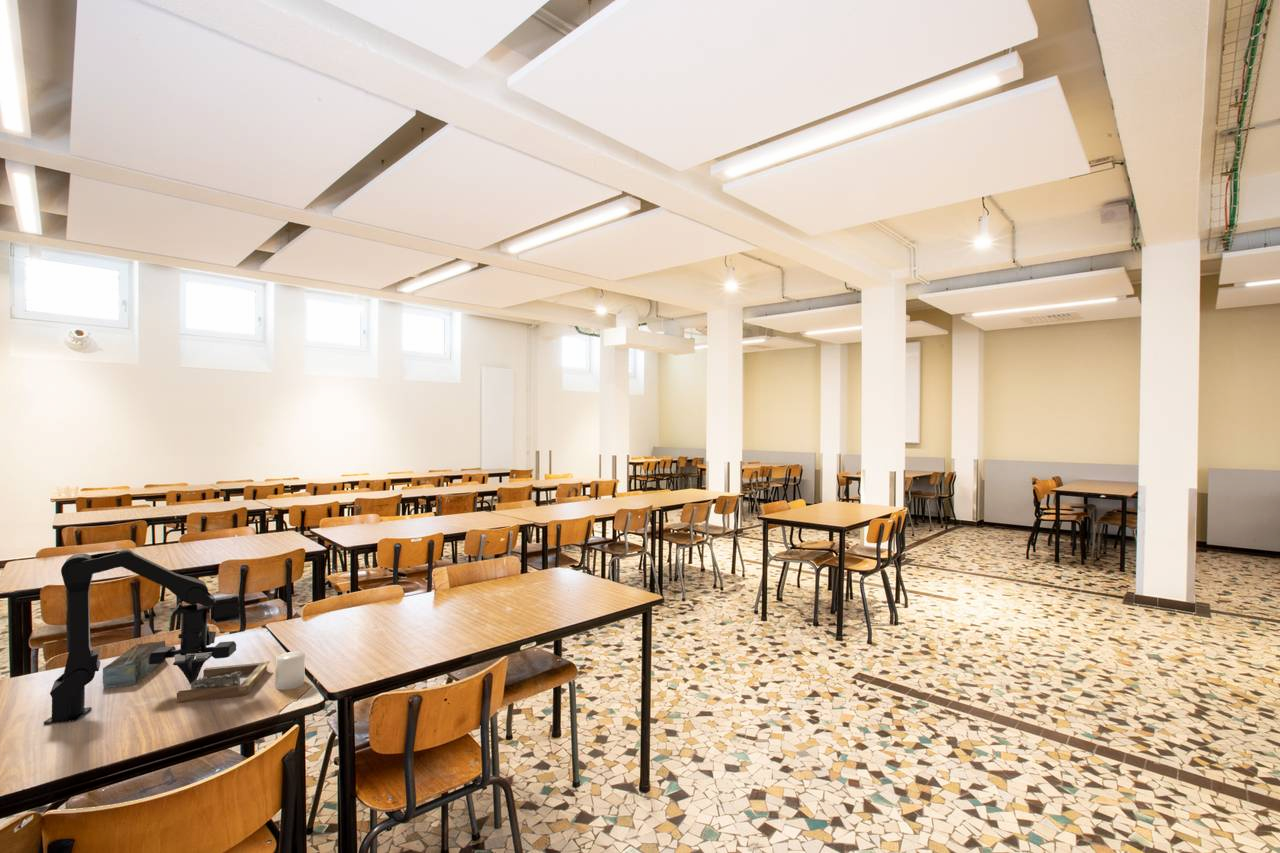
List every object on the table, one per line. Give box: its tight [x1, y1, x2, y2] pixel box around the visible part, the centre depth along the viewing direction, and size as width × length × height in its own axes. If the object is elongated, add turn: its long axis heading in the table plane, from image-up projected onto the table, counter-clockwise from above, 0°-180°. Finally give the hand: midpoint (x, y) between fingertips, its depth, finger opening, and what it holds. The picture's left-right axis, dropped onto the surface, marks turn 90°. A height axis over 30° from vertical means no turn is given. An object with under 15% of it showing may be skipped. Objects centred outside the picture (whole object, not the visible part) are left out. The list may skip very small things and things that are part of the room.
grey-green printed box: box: [102, 640, 167, 689], centre depth 168 cm, size 8×19×7 cm, turn 19°
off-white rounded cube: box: [274, 650, 306, 691], centre depth 161 cm, size 7×7×8 cm
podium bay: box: [176, 660, 271, 704], centre depth 160 cm, size 17×16×3 cm
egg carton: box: [188, 671, 242, 690], centre depth 157 cm, size 11×8×4 cm
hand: (192, 683), depth 158 cm, fingers closed
